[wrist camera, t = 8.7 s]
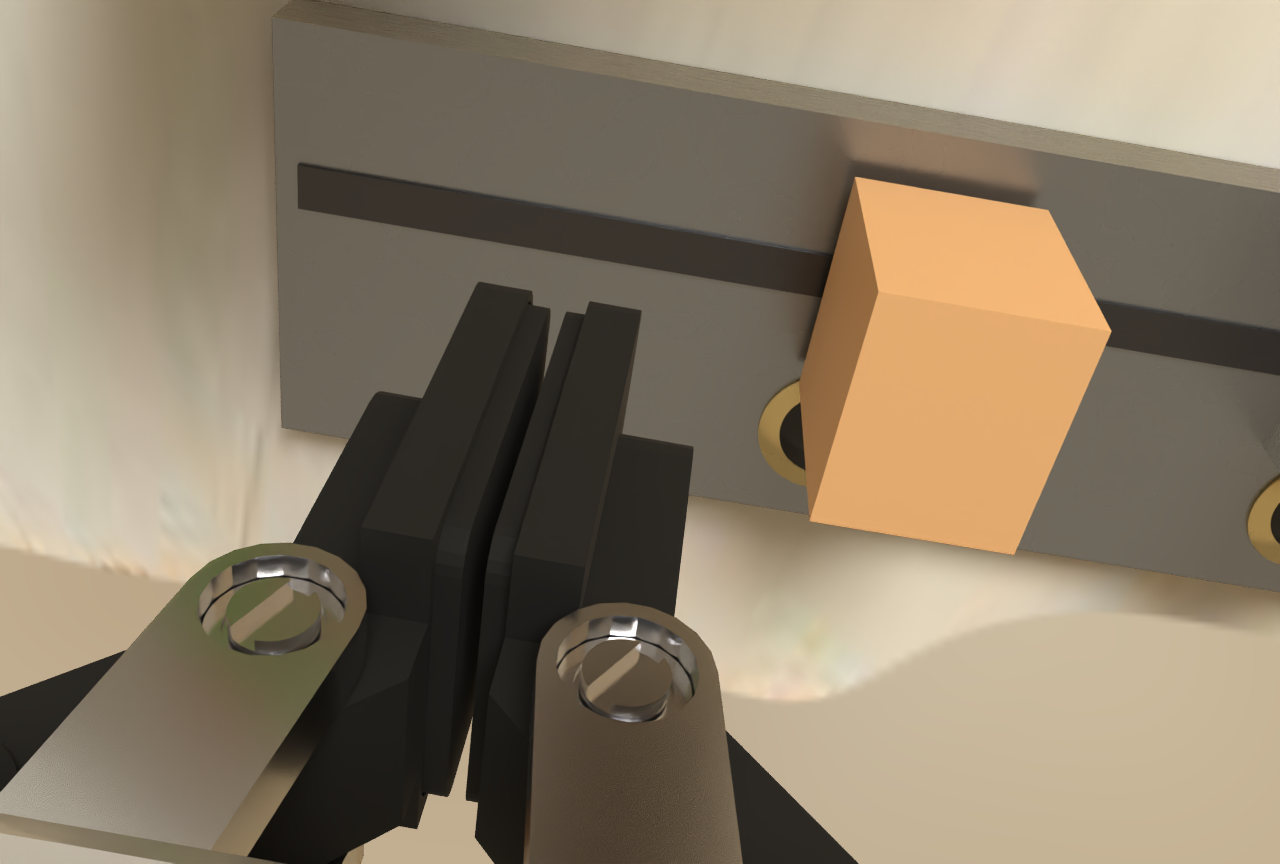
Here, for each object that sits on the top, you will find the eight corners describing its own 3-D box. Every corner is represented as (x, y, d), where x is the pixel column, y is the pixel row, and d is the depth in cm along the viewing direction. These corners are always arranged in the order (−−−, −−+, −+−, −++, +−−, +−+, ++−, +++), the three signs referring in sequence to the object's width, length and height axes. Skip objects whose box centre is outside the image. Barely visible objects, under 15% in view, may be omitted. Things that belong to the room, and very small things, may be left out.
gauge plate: (1590, 223, 26) (1837, 399, 20) (1360, 570, 31) (1501, 785, 25) (295, -3, 25) (160, 111, 19) (300, 394, 30) (197, 575, 25)
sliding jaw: (1048, 210, 24) (1111, 331, 20) (940, 498, 28) (973, 647, 24) (855, 176, 24) (878, 291, 20) (775, 470, 28) (781, 615, 24)
